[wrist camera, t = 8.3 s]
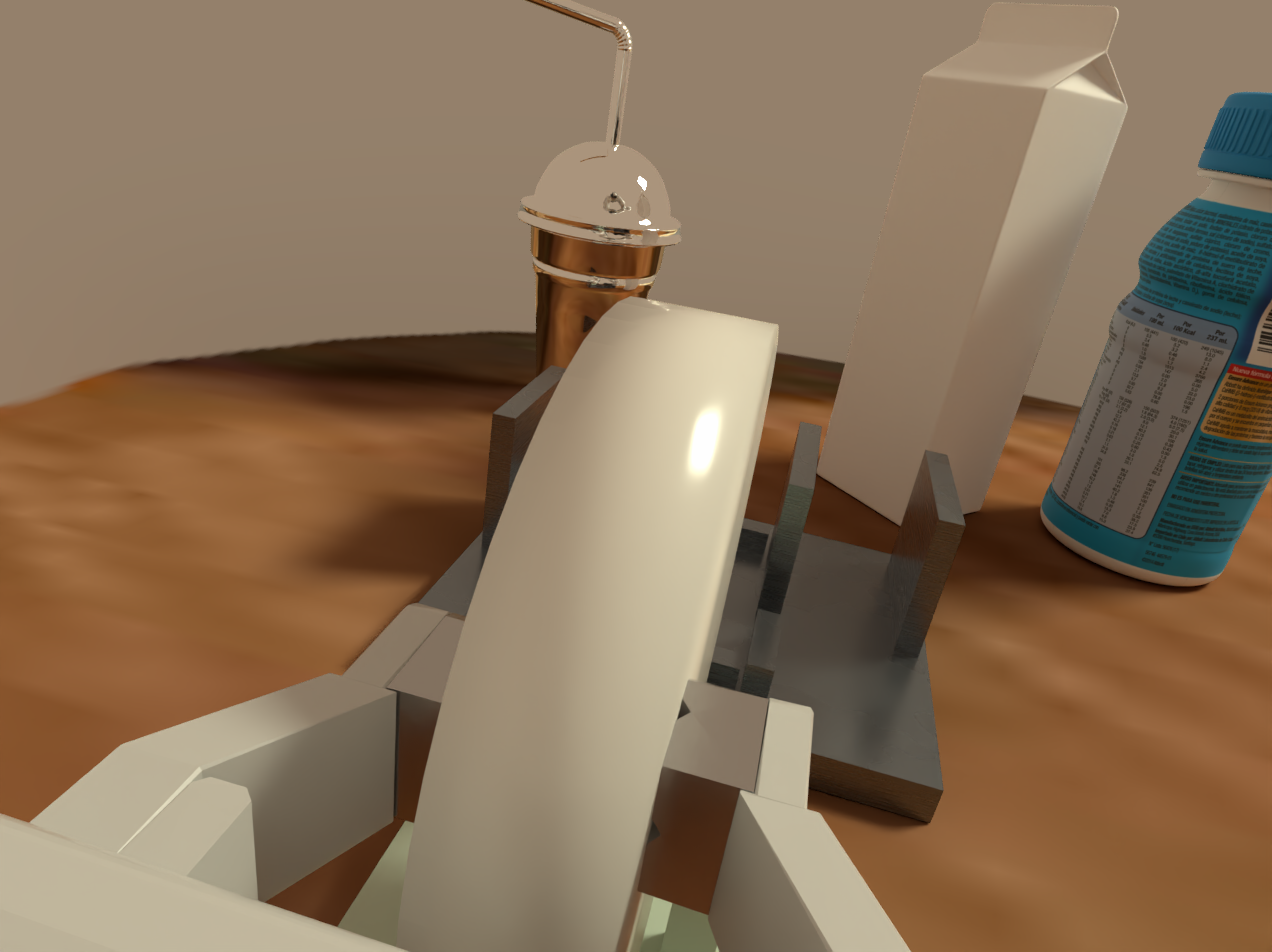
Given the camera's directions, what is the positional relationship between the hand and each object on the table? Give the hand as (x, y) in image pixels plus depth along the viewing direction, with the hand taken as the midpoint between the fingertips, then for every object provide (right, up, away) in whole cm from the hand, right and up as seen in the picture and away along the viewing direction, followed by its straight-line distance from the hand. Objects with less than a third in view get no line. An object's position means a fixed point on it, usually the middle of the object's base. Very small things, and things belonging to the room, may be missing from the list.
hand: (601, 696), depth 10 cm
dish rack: (+2, -2, +20) cm, 20 cm away
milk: (+14, +2, +33) cm, 36 cm away
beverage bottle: (+24, -1, +31) cm, 40 cm away
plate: (0, -5, +5) cm, 7 cm away
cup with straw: (-3, +7, +37) cm, 38 cm away
